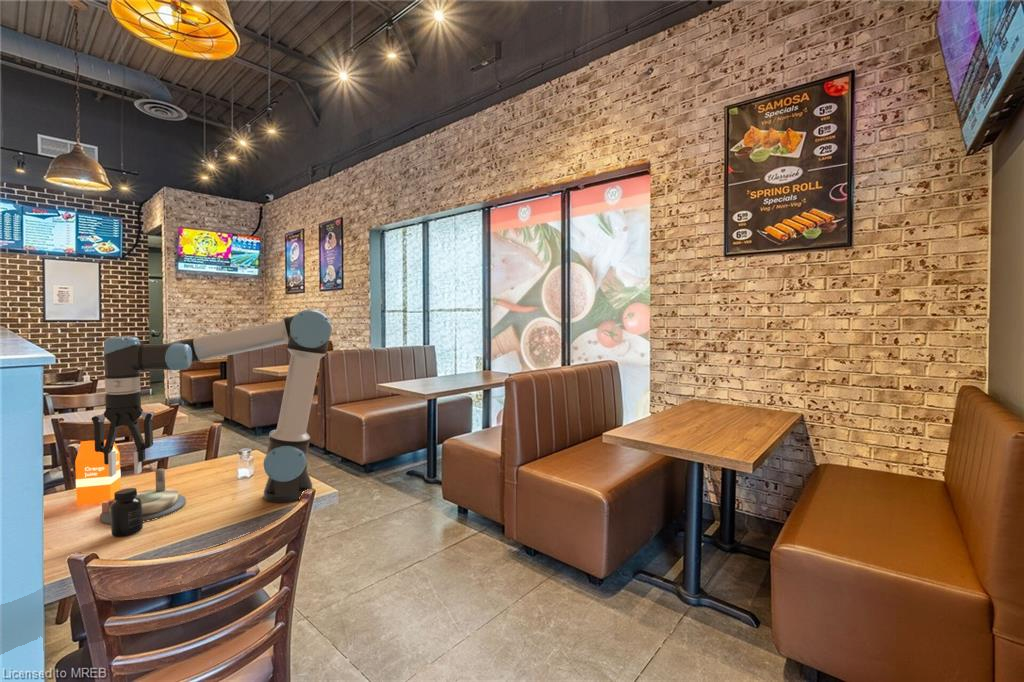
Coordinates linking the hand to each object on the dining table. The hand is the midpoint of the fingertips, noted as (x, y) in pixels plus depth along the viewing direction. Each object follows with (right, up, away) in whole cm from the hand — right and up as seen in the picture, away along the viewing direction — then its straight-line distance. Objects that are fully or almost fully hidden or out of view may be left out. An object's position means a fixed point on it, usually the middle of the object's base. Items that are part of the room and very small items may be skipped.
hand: (125, 473), depth 127 cm
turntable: (-7, -15, +15) cm, 22 cm away
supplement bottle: (0, -17, +1) cm, 17 cm away
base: (-7, -16, +15) cm, 23 cm away
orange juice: (-28, -15, +23) cm, 40 cm away
